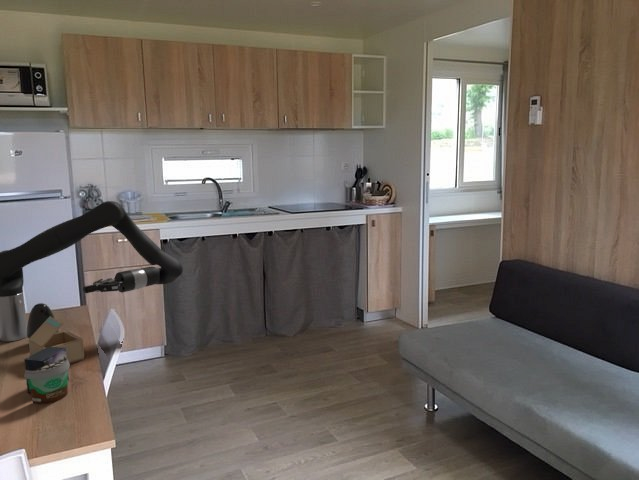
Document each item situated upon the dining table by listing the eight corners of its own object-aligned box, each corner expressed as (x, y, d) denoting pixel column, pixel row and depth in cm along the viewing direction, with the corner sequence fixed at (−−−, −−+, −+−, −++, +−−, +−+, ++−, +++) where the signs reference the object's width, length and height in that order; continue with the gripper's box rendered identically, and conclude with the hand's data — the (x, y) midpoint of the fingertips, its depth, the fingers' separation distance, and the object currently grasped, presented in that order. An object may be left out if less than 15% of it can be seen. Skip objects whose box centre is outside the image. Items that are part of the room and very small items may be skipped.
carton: (30, 359, 179) (27, 339, 178) (68, 348, 188) (66, 329, 187) (47, 370, 169) (44, 350, 167) (86, 359, 178) (84, 339, 176)
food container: (40, 410, 142) (36, 375, 141) (27, 405, 146) (23, 370, 144) (81, 392, 153) (78, 359, 151) (69, 387, 156) (65, 355, 154)
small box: (46, 395, 152) (42, 360, 150) (26, 393, 153) (22, 359, 151) (70, 379, 162) (66, 346, 160) (51, 378, 163) (48, 345, 161)
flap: (28, 338, 176) (49, 315, 180) (30, 339, 176) (50, 316, 181) (41, 346, 169) (62, 322, 173) (42, 347, 169) (63, 323, 173)
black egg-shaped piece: (33, 351, 187) (28, 309, 184) (25, 343, 194) (20, 303, 192) (63, 343, 193) (59, 303, 191) (54, 336, 201) (50, 298, 198)
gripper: (121, 267, 199) (74, 277, 186) (139, 272, 190) (91, 282, 177) (123, 287, 200) (77, 297, 188) (141, 292, 191) (93, 303, 179)
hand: (84, 290), depth 182 cm, fingers closed
